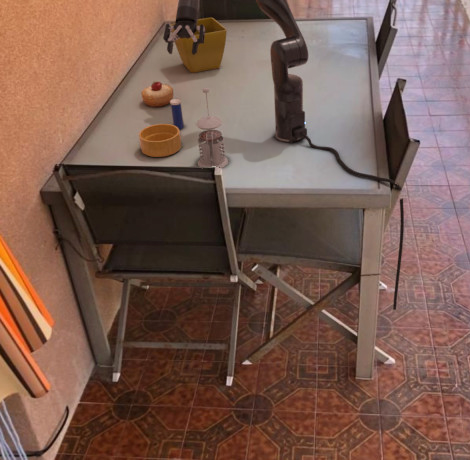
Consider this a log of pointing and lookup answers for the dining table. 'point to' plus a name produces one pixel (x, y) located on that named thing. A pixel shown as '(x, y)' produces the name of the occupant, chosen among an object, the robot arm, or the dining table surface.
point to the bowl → (160, 140)
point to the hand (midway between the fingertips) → (181, 53)
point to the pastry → (157, 94)
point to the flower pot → (203, 47)
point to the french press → (210, 141)
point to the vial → (177, 113)
